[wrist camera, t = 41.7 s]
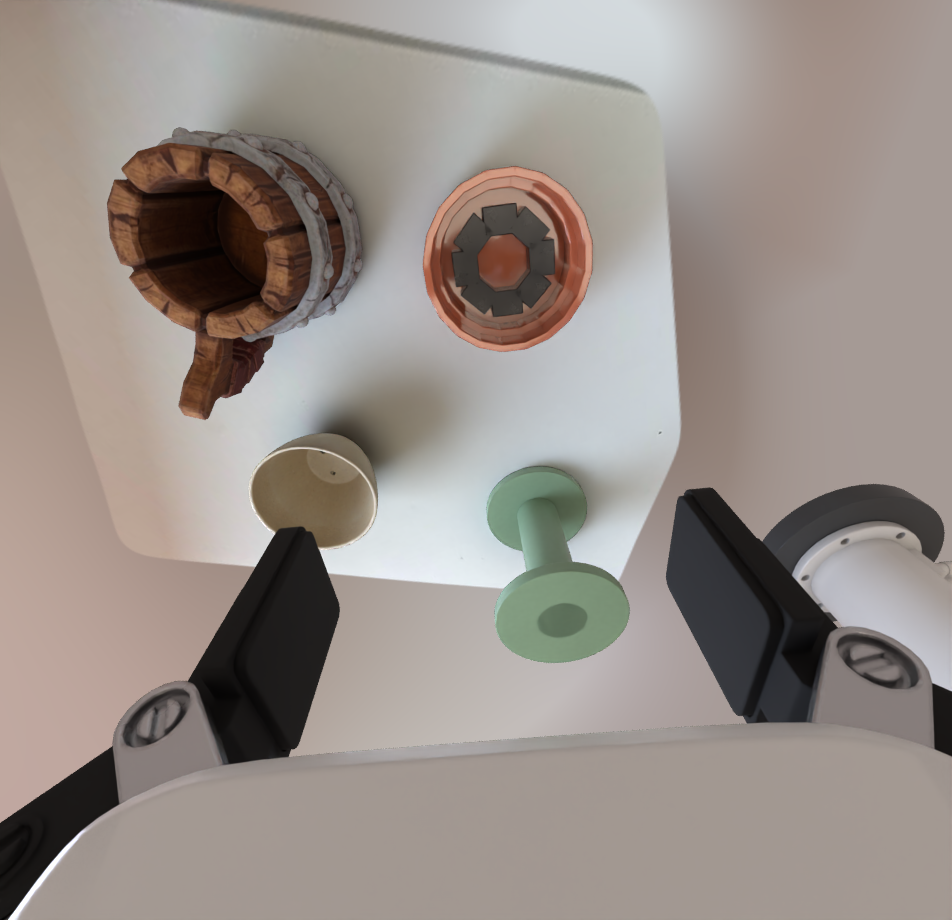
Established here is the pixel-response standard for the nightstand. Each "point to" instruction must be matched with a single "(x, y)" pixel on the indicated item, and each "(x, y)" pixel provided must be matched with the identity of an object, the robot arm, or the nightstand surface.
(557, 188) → the bowl
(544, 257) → the ring
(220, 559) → the nightstand surface
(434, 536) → the nightstand surface
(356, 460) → the flower pot
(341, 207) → the mug
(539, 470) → the stand
